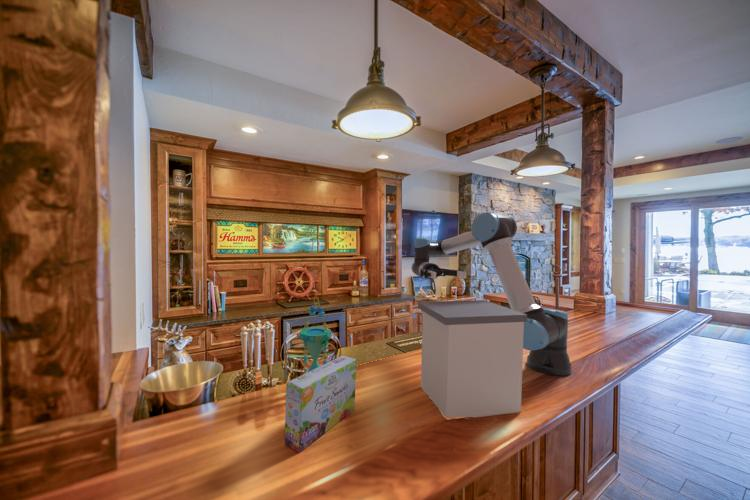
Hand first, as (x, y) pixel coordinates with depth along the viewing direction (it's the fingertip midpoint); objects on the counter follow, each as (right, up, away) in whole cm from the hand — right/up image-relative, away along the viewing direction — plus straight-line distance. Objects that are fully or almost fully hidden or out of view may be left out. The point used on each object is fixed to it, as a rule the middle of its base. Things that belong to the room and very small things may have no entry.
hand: (450, 275), depth 122 cm
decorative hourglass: (-50, -35, -26) cm, 66 cm away
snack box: (-44, -35, -45) cm, 72 cm away
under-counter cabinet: (-2, -36, -30) cm, 46 cm away
